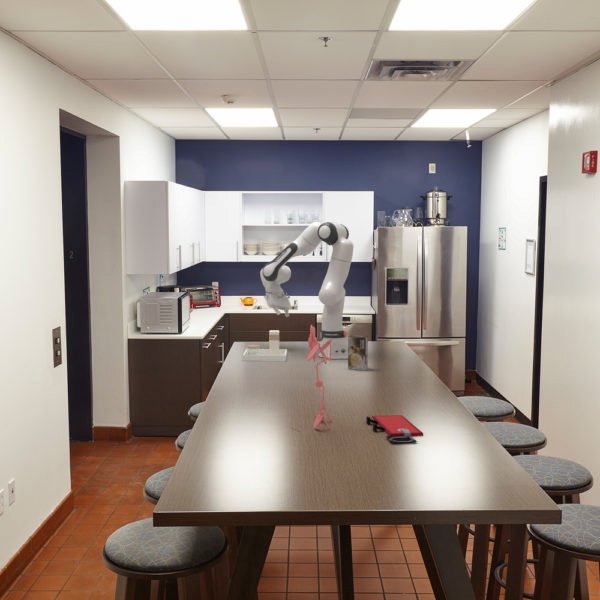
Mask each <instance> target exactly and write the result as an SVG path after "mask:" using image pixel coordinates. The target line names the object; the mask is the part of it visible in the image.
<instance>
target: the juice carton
mask: <svg viewBox="0 0 600 600" xmlns="http://www.w3.org/2000/svg"><path fill="white" fill-rule="evenodd" d="M268 333H269V334H268V336H269V337H268V344H269V347H268V349H269V355H279V349H280V330H278V329H277V330H274V329H273V330H272V329H271V330H269V331H268Z"/></svg>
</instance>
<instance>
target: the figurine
mask: <svg viewBox="0 0 600 600" xmlns="http://www.w3.org/2000/svg"><path fill="white" fill-rule="evenodd" d="M309 331H310V333H309V336H308V342H307V344H308V347H309V348H310V352H309V353H308V355H307V359H306V361H307V362H308V363H309V361H310V360H311V359H312V360H313V362H316V353H317V352H318V354H319V353H321V354H322V357H321V358H322V360H321V361H319V362H317V363H316V365H315V369H316V380H315V381H314V385H315V386H316V388H318V389H319V391H320V392H321V394H322V401H321V405H320V410H319V411H318V413H317V414H316V416H315V417H314V419H315V420H314V423H313V430H315V429H316V428H317V427H318V426H319V425H320V424H321V422H322V420H323V422H324V424H325V425H326V427H327V429H328V430H329V429H330V426H329V424H328V422H327V420H326V418H325V417H324V411H325V413H326V416H327V418H328V419H329V422H332V419H331V416H333V417H334V416H336V415H334V414H330V415H329V413H328V411H327V408H326V403H325V404H324V402H325V386H324V384H323V383H324V382H323V381H322V379H319V369H318V368H319V367H318V366H319V365H320V364H322V363H323V362H324V364H325V365H326V364H327V361H332V359H331V341H332V340H331V339H330V340H329V341H327V342H326V343H325V344H324V345H323V346H322V347H320V346H321V342H318V339H317V337H316V327H315V326H313V324H310V328H309ZM329 344H330V356H329V358H328V357H326V355H325V354H324V352H323V350H324V349H326V348H327V347H328V346H329ZM318 350H319V351H318ZM324 357H325V358H324ZM321 387H322V388H323V389H322V388H321ZM295 420H297V419H294V421H295ZM292 429H293V430H294V431H296V432H299V433H300V432H301V430H297V429H295V428H294V427H292V428H291V430H292Z"/></svg>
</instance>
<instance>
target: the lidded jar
mask: <svg viewBox="0 0 600 600" xmlns="http://www.w3.org/2000/svg"><path fill="white" fill-rule="evenodd" d="M260 347H261V345H260V344H254V343H253V344H247V349H248V355H259V349H260Z"/></svg>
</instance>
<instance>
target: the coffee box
mask: <svg viewBox="0 0 600 600" xmlns="http://www.w3.org/2000/svg"><path fill="white" fill-rule="evenodd" d="M347 339H348V359H347V370H355V369H356V370H355V371H357V370H358V371H359V370H360V371H366V370H368V369H369V365H368V363H369V362H368V361H369V358H368V357H369V355H368V354H369V340H368V339H369V336H368V335H353V334H352V335H351V334H349V336H348V337H347Z"/></svg>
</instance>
